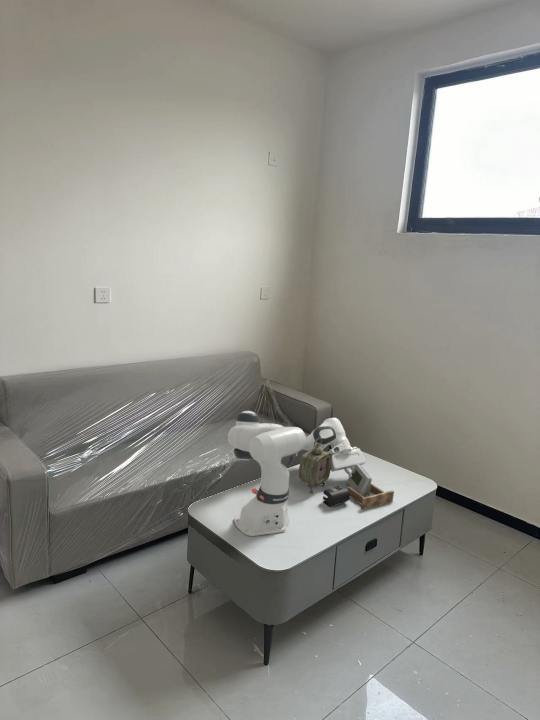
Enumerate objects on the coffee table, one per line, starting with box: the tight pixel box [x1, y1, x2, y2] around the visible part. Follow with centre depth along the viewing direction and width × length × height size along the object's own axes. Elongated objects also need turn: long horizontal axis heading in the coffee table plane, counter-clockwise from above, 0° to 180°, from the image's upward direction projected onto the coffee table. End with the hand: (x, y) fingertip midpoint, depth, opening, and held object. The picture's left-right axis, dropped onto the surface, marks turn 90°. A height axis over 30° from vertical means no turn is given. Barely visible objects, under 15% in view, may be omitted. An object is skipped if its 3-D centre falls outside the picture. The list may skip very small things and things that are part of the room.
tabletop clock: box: [298, 438, 332, 495], centre depth 231 cm, size 14×9×25 cm, turn 143°
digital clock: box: [347, 464, 373, 497], centre depth 233 cm, size 16×9×11 cm, turn 0°
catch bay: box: [346, 482, 395, 510], centre depth 228 cm, size 18×14×5 cm
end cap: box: [322, 485, 351, 508], centre depth 221 cm, size 10×7×7 cm
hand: (352, 476), depth 238 cm, fingers closed, pressing on digital clock
